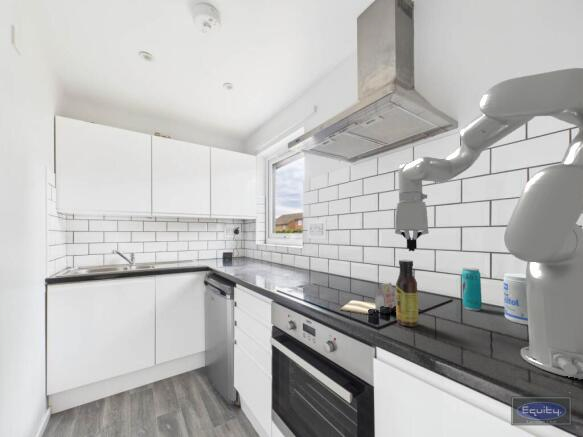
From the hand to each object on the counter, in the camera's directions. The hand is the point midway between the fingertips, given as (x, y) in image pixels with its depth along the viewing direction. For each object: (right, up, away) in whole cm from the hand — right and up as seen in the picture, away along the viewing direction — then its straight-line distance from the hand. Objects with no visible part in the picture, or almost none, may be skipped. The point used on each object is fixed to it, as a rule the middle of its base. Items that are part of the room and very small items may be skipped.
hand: (411, 250), depth 88 cm
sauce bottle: (-6, -22, -10) cm, 25 cm away
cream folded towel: (-16, -23, +8) cm, 29 cm away
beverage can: (+26, -23, +6) cm, 35 cm away
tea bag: (-8, -23, +3) cm, 24 cm away
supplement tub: (+33, -22, -7) cm, 40 cm away
